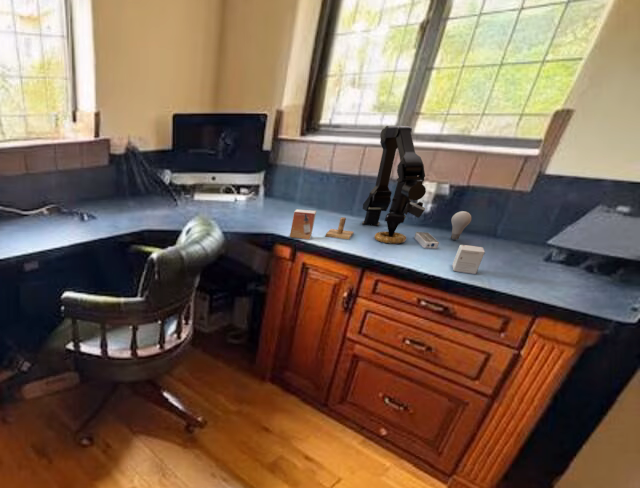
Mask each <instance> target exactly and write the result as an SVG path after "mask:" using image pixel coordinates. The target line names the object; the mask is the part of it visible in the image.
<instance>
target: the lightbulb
mask: <svg viewBox="0 0 640 488" xmlns="http://www.w3.org/2000/svg"><path fill="white" fill-rule="evenodd" d="M450 220H451V226H452V230H451V236H450V239H452V240H453V241H456V240H459V239H460V237H461V234H462V233H463V231H464V230H465V228H466V227H467V226H468V225H469V224H471V222H472V215H471V214H470V213H469V212H468V211H463V210H461V211H458V212H456V213H454V214H453V215H452V217H451V219H450Z"/></svg>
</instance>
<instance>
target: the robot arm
mask: <svg viewBox="0 0 640 488" xmlns="http://www.w3.org/2000/svg"><path fill="white" fill-rule="evenodd" d="M412 130H413V128H412V127H411V126H409V125H405V126H404V125H386V126H385V127H384V128H383V129H381V131H380V136H379V138H380V141H379V143H380V145H381V146H380V147H381V149H382V152H381V158H380V162H379V166H378V171H377V172H378V173H377V177H376V180H375V186H374V187H373V188H372V189H371V190H370V191H369V193H368V197H367V198H366V200H365V201H364V202H363V203H362V210H364V211H365V215H364V220H363V221H362V223H361V225H362V226H372V227H379V225H380V224H381V222H380V218H381V214H382V212H387V211H388V208H389V207H390V208H389V211H388V212H387V214H386V215H385V218H384V222H386V226H387V232H389V236H393V234H394V232H396V230H397V228H398V226H399V225H400V224H403V223H404V222H405V219H406V217H407V216H406V215H408V214H410V215H412V216H414V217H416V218H418V219H419V218H421V216H422V214H423V213H424V212H425V211H426V207H425V206H423V205H424V203H423V202H422V201H419V200H421V199H423V198H424V196H425V195H426V192H427V188H426V186H425V185H424V184H423V183H424V182H425V177H426V173H425V164H424V161H423V159H422V158H421V156H420V155H418V154H417V153H416V150H415V145H414V140H413V135H412V133H413V132H412ZM397 150H398V156H399V163H398V164H397V169H396V173H397V176H398V177H397V178H396V182H397V183H396V185H395V186H396V187H395V190H394V194H393V198H392V199H391V197H392V191H391V190H390V188H389V186H390V185H389V184H390V179H391V175H392V171H393V165H394V162H395V157H396V154H397ZM391 201H392V202H391ZM412 201H415V202H416V201H418V202H416V203H415V202H412ZM390 204H391V205H390Z"/></svg>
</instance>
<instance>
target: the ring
mask: <svg viewBox="0 0 640 488" xmlns="http://www.w3.org/2000/svg"><path fill="white" fill-rule="evenodd" d="M373 238H374V240H376V241H378V242H380V243H384V244H390V245H391V244H392V245H393V244H395V245H399V244H404V243H405V242H406V241H407V236H406V235H405V234H403V233H400V232H397V231H395V232H394V234H393V236H389V232H388V231H378V232H376V233H375V235H374V237H373Z"/></svg>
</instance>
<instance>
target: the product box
mask: <svg viewBox="0 0 640 488" xmlns="http://www.w3.org/2000/svg"><path fill="white" fill-rule="evenodd" d="M485 254H486V253H485V249H484V247H483V246H477V245H466V244H460V245H459V247H458V249H457V252H456V254H455V257H454V259H453V262H452V271H453V272H458V273H459V272H460V273H465V274H471V275H472V274H473V275H477V273H478V271H479V268H480V265H481V263H482V260H483V258H484V255H485Z"/></svg>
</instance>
